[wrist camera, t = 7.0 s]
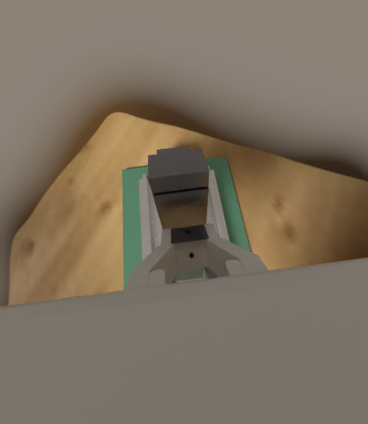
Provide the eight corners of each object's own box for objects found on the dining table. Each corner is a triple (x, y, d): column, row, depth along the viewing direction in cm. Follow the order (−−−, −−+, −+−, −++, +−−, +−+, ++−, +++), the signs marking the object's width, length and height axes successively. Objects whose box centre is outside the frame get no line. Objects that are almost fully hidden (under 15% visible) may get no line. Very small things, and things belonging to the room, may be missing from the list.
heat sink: (229, 275, 25) (245, 277, 18) (150, 286, 25) (137, 293, 18) (206, 165, 31) (212, 138, 25) (143, 173, 31) (131, 148, 24)
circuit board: (262, 307, 24) (265, 308, 23) (127, 327, 24) (124, 329, 23) (225, 159, 33) (226, 156, 32) (124, 172, 32) (122, 169, 31)
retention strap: (199, 262, 22) (202, 278, 21) (177, 265, 22) (178, 281, 21) (201, 148, 9) (209, 171, 8) (148, 155, 9) (147, 180, 8)
